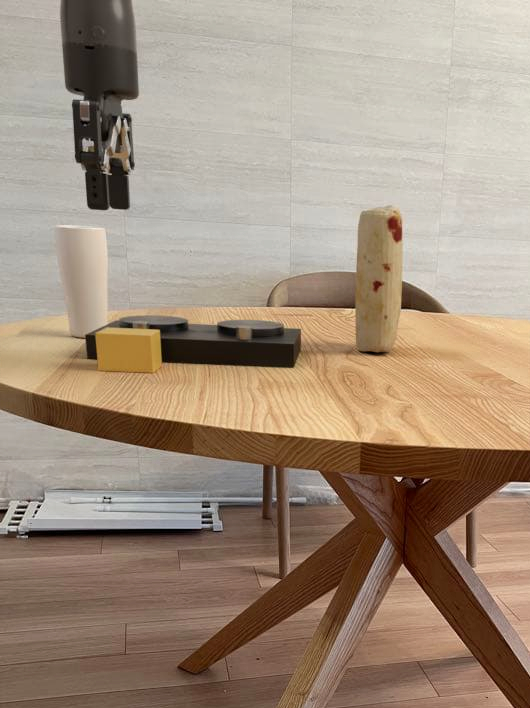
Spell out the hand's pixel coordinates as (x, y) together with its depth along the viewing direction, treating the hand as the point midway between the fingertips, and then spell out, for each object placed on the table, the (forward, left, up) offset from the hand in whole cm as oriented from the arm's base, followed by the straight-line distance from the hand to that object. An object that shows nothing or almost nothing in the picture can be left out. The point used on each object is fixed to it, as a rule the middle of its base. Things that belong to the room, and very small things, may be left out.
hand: (109, 209), depth 94 cm
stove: (+7, +12, -18) cm, 23 cm away
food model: (+31, +21, -18) cm, 42 cm away
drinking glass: (-11, +23, -18) cm, 31 cm away
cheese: (+1, 0, -18) cm, 18 cm away
